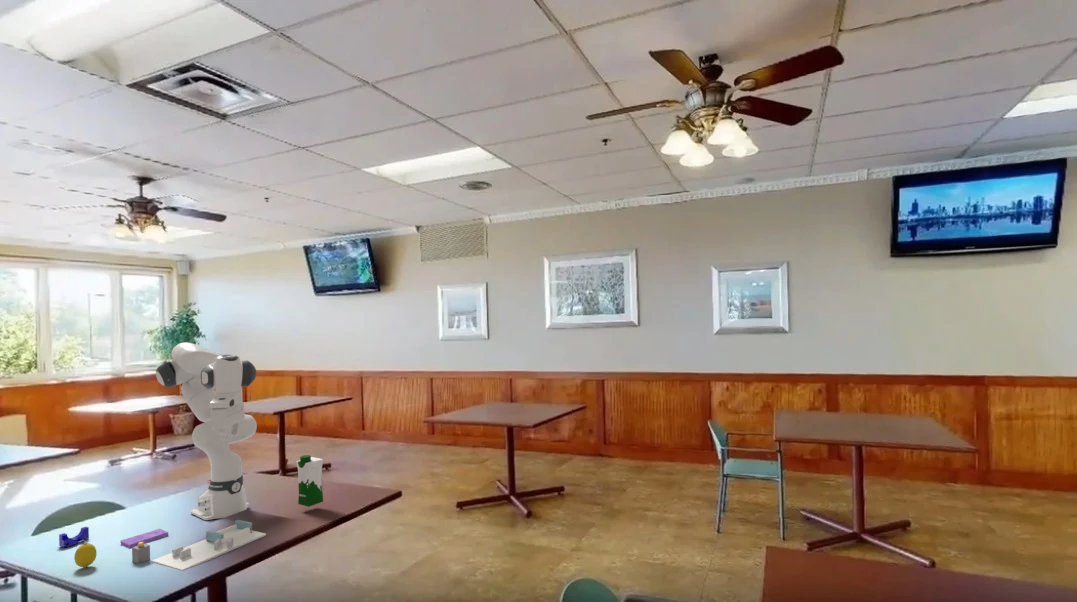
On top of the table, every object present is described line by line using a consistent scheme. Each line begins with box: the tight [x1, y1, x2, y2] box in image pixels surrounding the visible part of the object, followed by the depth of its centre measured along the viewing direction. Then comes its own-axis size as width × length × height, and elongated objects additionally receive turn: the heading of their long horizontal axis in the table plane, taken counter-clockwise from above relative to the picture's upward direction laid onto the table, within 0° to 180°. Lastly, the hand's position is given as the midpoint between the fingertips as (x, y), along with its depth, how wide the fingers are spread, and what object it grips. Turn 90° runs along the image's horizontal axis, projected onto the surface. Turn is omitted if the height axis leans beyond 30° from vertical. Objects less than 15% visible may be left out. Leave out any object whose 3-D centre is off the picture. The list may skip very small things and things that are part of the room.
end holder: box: [205, 519, 253, 545], centre depth 201 cm, size 8×12×3 cm, turn 154°
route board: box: [151, 530, 267, 571], centre depth 193 cm, size 16×30×3 cm, turn 154°
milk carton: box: [295, 454, 324, 508], centre depth 236 cm, size 9×9×20 cm
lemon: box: [73, 542, 97, 569], centre depth 180 cm, size 6×6×8 cm
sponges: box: [120, 528, 169, 549], centre depth 202 cm, size 7×13×2 cm, turn 146°
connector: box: [131, 542, 151, 565], centre depth 184 cm, size 4×4×6 cm
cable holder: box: [58, 526, 90, 549], centre depth 201 cm, size 8×4×4 cm, turn 152°
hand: (229, 437), depth 206 cm, fingers open, 8 cm apart
